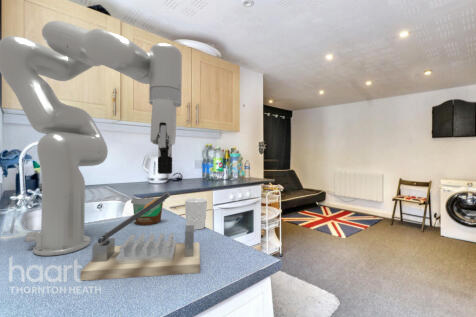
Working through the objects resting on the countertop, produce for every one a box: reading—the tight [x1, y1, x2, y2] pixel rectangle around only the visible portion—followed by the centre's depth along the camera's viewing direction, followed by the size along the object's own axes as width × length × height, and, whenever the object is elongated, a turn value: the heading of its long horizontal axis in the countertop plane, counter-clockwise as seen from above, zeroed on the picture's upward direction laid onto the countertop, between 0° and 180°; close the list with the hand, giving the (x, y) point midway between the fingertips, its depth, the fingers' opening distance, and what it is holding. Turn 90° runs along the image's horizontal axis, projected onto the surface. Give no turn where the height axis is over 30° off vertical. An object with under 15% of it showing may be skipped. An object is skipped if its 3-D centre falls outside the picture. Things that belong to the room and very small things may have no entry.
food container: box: [130, 196, 166, 226], centre depth 87 cm, size 12×6×10 cm, turn 106°
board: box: [79, 241, 201, 281], centre depth 55 cm, size 24×13×2 cm, turn 100°
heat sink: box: [91, 225, 195, 265], centre depth 55 cm, size 22×9×6 cm, turn 100°
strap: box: [97, 191, 171, 243], centre depth 55 cm, size 18×4×2 cm
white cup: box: [184, 197, 208, 231], centre depth 84 cm, size 8×8×10 cm
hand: (165, 173), depth 56 cm, fingers closed
